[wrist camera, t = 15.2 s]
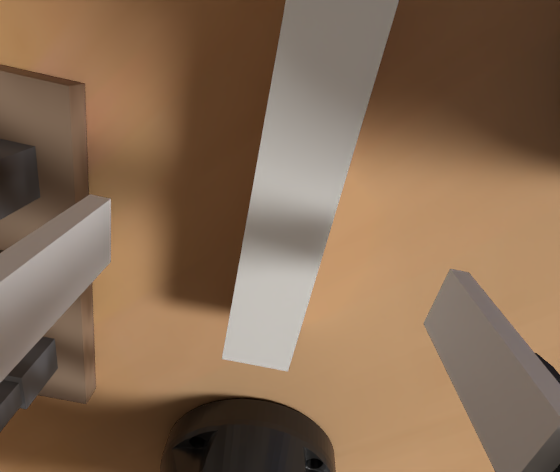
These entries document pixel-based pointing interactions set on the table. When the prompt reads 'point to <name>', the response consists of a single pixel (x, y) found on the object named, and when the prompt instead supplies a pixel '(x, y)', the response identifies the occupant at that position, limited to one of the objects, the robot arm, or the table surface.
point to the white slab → (302, 167)
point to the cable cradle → (38, 211)
